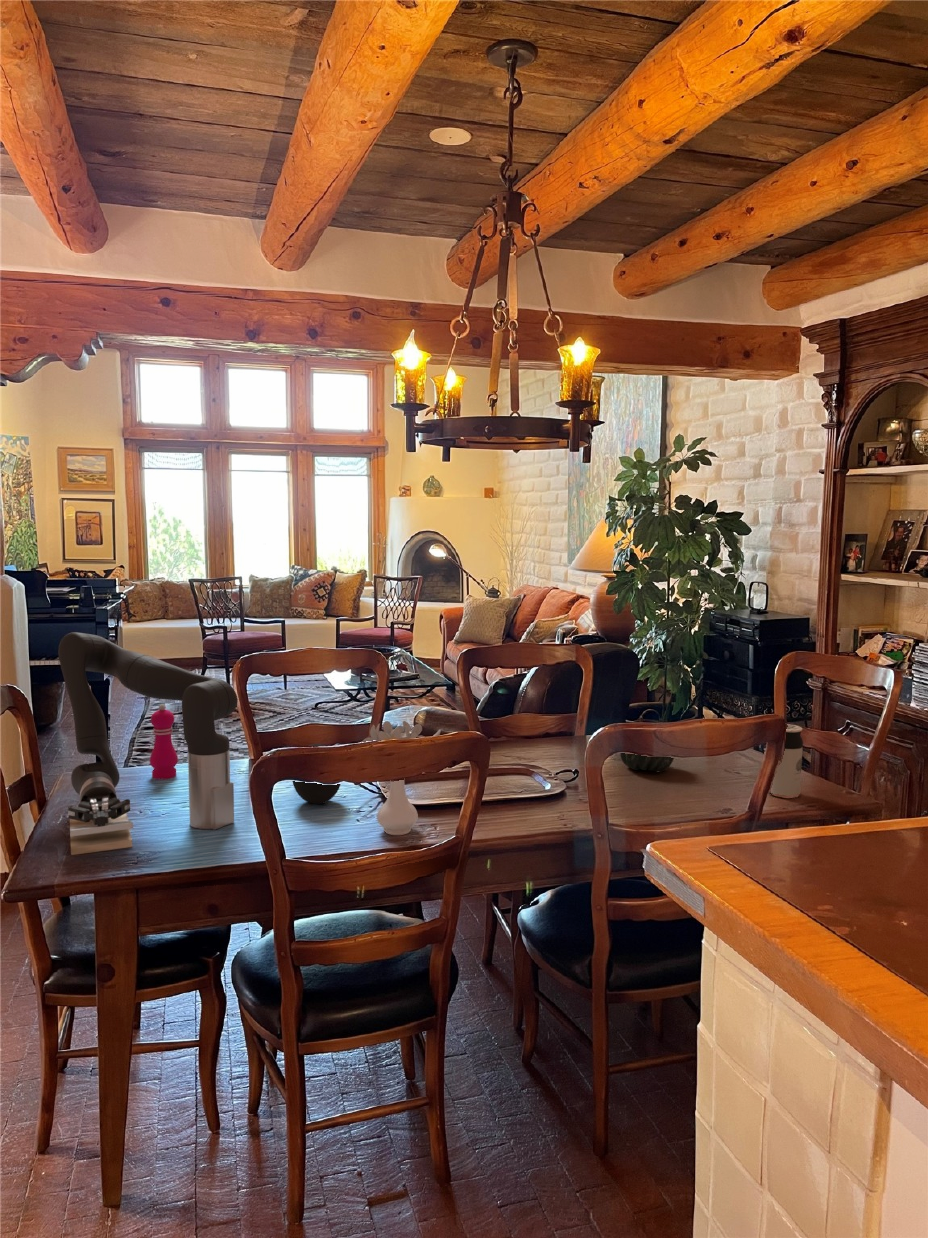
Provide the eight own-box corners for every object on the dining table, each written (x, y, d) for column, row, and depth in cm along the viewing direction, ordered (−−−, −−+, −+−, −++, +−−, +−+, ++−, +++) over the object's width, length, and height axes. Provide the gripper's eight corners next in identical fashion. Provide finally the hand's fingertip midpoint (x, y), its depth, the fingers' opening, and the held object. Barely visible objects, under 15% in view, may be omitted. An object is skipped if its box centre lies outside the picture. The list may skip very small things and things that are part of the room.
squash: (609, 743, 258) (626, 713, 248) (656, 742, 262) (674, 713, 251) (622, 785, 249) (640, 755, 238) (670, 783, 253) (690, 754, 242)
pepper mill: (162, 781, 235) (160, 708, 232) (144, 777, 238) (142, 705, 236) (183, 775, 241) (181, 703, 238) (166, 771, 244) (164, 700, 242)
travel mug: (761, 793, 230) (764, 726, 228) (778, 788, 235) (782, 722, 233) (788, 801, 224) (792, 732, 222) (806, 795, 228) (809, 728, 226)
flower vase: (448, 833, 198) (449, 725, 196) (371, 845, 190) (371, 733, 188) (425, 815, 210) (425, 713, 207) (351, 826, 202) (351, 720, 199)
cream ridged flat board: (69, 824, 202) (69, 815, 201) (125, 817, 207) (125, 809, 206) (71, 855, 183) (70, 846, 183) (132, 846, 188) (131, 837, 188)
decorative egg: (352, 803, 219) (352, 744, 217) (313, 815, 210) (312, 753, 208) (321, 792, 227) (320, 735, 225) (281, 803, 218) (281, 744, 216)
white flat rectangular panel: (69, 827, 191) (69, 830, 178) (128, 820, 196) (132, 822, 183) (70, 833, 190) (70, 836, 178) (129, 825, 195) (133, 828, 183)
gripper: (64, 784, 193) (65, 808, 177) (129, 777, 198) (135, 800, 183) (66, 817, 194) (66, 844, 178) (130, 809, 199) (136, 835, 184)
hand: (101, 821), depth 180 cm, fingers closed
